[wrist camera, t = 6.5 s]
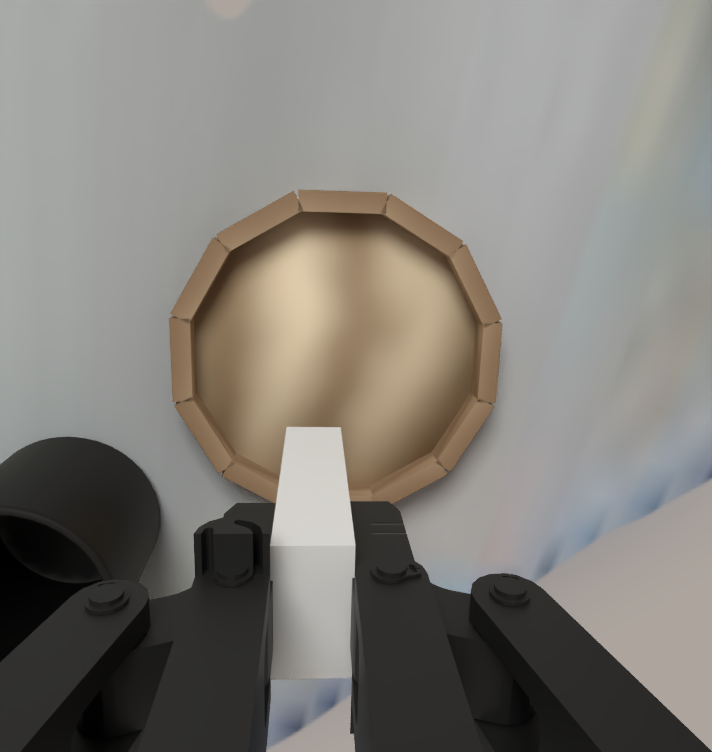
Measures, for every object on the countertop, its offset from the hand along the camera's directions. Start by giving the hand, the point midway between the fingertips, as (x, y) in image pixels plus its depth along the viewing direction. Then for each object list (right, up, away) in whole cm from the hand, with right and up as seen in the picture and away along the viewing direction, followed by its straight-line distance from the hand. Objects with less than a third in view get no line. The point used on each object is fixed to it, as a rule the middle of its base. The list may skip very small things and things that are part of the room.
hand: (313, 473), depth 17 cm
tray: (0, +4, +17) cm, 17 cm away
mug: (-14, -6, +18) cm, 24 cm away
